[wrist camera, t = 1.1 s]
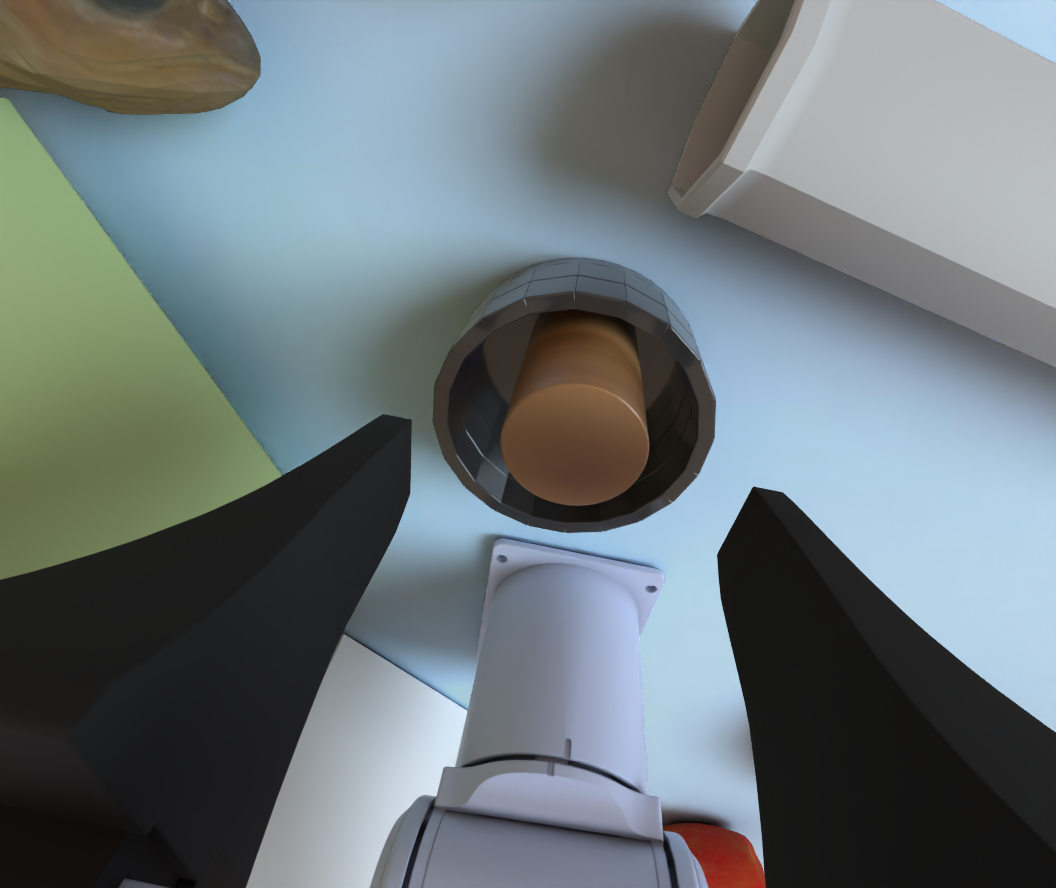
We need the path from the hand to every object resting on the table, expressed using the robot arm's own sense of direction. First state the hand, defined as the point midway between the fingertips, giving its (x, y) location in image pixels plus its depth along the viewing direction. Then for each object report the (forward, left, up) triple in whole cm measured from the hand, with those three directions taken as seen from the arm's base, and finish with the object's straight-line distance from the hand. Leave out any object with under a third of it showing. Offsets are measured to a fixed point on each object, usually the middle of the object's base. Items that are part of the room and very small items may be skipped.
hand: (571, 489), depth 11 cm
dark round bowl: (-2, 0, -8) cm, 8 cm away
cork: (0, 0, -8) cm, 8 cm away
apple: (-34, -20, -6) cm, 40 cm away
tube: (+5, -14, -8) cm, 17 cm away
